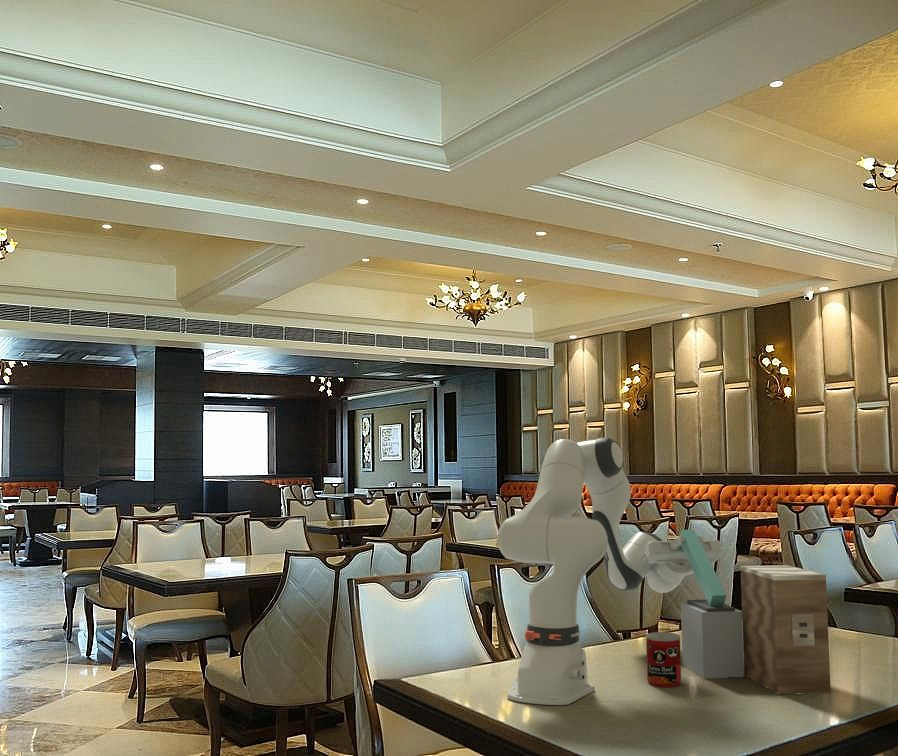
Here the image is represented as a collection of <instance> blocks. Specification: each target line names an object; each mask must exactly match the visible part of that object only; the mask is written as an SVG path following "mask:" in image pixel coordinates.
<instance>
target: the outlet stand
mask: <svg viewBox="0 0 898 756" xmlns="http://www.w3.org/2000/svg"><path fill="white" fill-rule="evenodd" d="M740 579H741V580H740V585H741V586H740V588H741V589H740V590H741V611H742V627H743V657H744V676H745V675H746V676H748V677H750V678H751V679H750V678H749V679H750V680H752V679H753V680H752V681H754V680H755V681H757V682H759V683H760V685H761V684H762V685H764V686H766V687H768V688H769V689H768V688H767V689H768V690H770V689H771V690H773V691H775V692H777V693H779V694H794V695H798V694H797V693H823V694H831V692H832V691H831V690H832V688H831V666H830V665H831V663H830V662H831V661H830V643H829V642H830V639H829V619H828V618H829V617H828V614H829V613H828V596H827V594H828V593H827V575H826V574H823V573H820V572H815V571H812V570H808V569H804V568H800V567H796V566H791V565H786V564H785V565H782V564H781V565H780V564H779V565H740ZM746 676H745V677H746ZM748 677H747V678H748ZM755 681H754V682H755ZM757 682H756V683H757ZM759 683H758V684H759ZM762 685H761V686H762ZM764 686H763V687H764ZM766 687H765V688H766ZM771 690H770V691H771ZM773 691H772V692H773ZM775 692H774V693H775ZM777 693H776V694H777Z"/></svg>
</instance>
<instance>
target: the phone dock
mask: <svg viewBox="0 0 898 756" xmlns="http://www.w3.org/2000/svg"><path fill="white" fill-rule="evenodd" d="M680 621H681V623H680V625H681V626H680V627H681V650H682V651H681V653H682V654H681V658H682V662H681V663H682V664H681V665H682V666H683V667H685V668H686V669H688V670H689V671H691V672H693V673H694V674H696V675H697V676H699V677H700V678H702V679H705V680H706V679H707V680H708V679H711V680H712V679H729V678H728V677H744V678H745V675H744V652H743V622H742V610H739V609H737V608H736V607H733V606H732V605H729V604H727V603H724V605H723V606H709V604H708V601H707V599H686V602H680Z"/></svg>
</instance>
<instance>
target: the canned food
mask: <svg viewBox="0 0 898 756" xmlns="http://www.w3.org/2000/svg"><path fill="white" fill-rule="evenodd" d="M645 643H646V644H645V646H646V647H645V648H646V676H647V678H646V679H647V682H648V683H649V685H652V686H655V687H660V688H661V687H662V688H673V687H679V685H680V684H681V682H682V670H681V669H682V667H681V666H682V664H681V663H682V662H681V658H682V655H681V636H680V634H678V633H673V632H668V631H654V632H653V631H652V632H649V633H647V634H646V638H645Z"/></svg>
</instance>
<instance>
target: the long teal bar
mask: <svg viewBox="0 0 898 756" xmlns="http://www.w3.org/2000/svg"><path fill="white" fill-rule="evenodd" d="M679 536H684V537H685V540H686V543H685V544H684V545H681V546H682V548H683V550H684V552H685V554H686V557H687V559H688V561H689V563H690V565H691V567H692V569H693V572H694V573H693V574H694V576H695V578H696V580H697V583H698V584H699V586H700V589H701V591H702V593H703V595H704V598H705V600H707V601H708V604H709V606H723V605H724V604H725V601H726V598H727V593H726V591H725V590H724V588H723V586H722V585H723V584H722V583H721V582H720V581H721V580H720V579H719V578H718V575H717V573H716V571H715V568H713V565H712V564H711V563H710V561H709V559H708V557H707V555H706V553H705V551H704V549H703V547H702V545H701V543H700V541H699V539H698V537H697V536H698V535H697V533H696V531H695V529H680V533H679Z"/></svg>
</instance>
